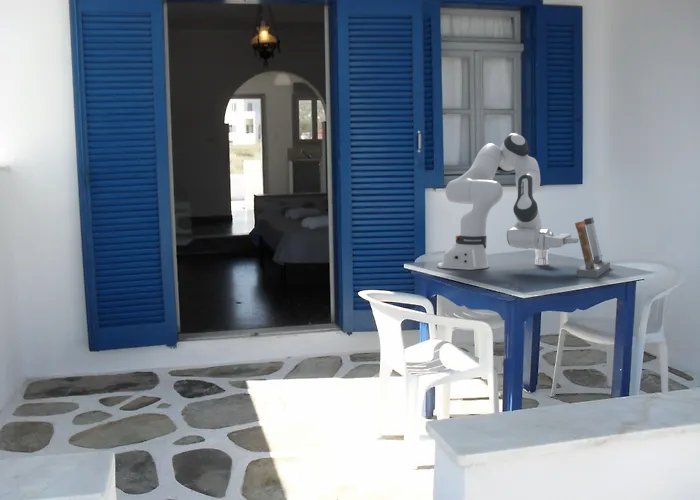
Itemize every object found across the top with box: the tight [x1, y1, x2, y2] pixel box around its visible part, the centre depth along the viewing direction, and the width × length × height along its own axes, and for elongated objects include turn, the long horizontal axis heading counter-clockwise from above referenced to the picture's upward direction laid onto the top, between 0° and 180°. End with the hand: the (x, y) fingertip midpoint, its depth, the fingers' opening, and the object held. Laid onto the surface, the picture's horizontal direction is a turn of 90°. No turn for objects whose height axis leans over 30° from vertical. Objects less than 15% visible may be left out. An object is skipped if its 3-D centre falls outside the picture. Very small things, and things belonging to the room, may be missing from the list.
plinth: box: [576, 254, 611, 279], centre depth 317 cm, size 8×30×6 cm, turn 151°
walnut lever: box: [574, 220, 594, 267], centre depth 309 cm, size 3×5×19 cm, turn 151°
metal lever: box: [583, 217, 603, 262], centre depth 325 cm, size 3×5×19 cm, turn 151°
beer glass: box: [534, 248, 550, 266], centre depth 339 cm, size 7×7×15 cm
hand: (577, 240), depth 311 cm, fingers closed
